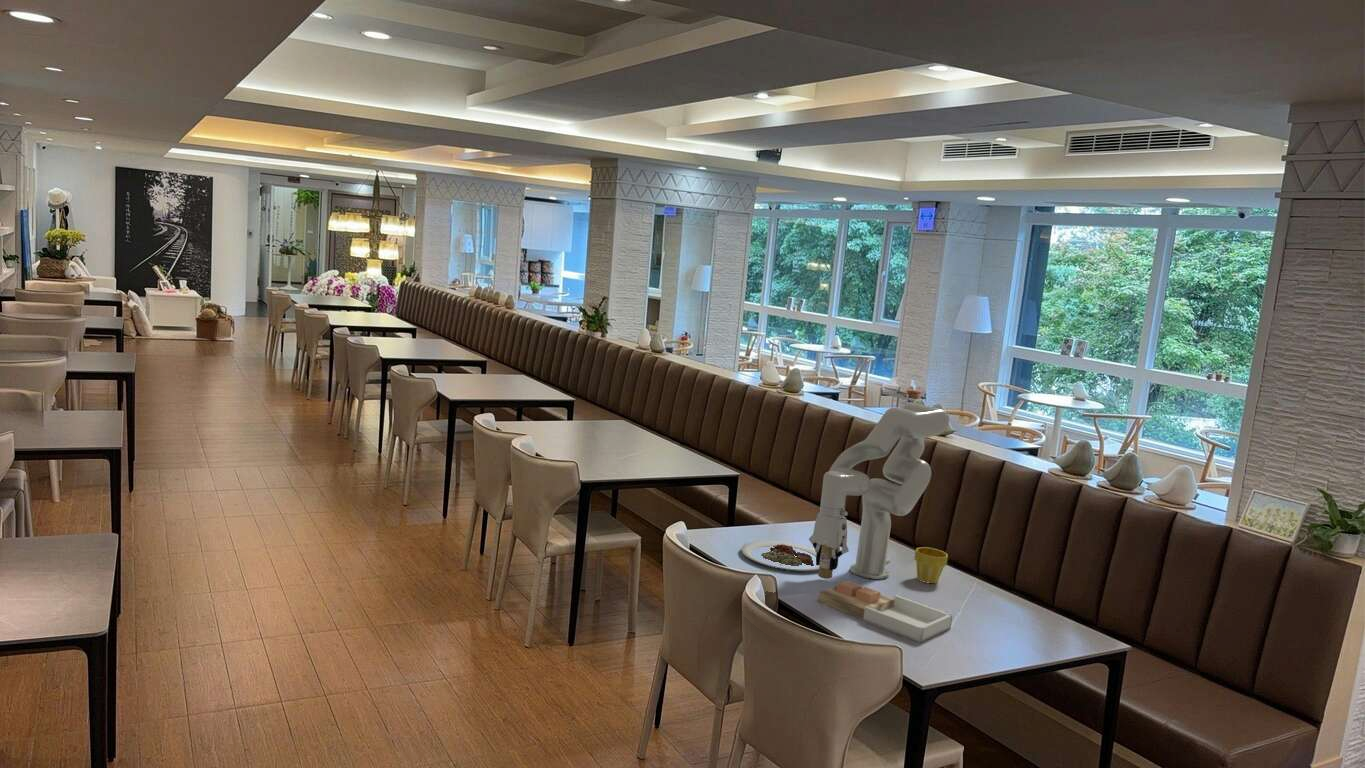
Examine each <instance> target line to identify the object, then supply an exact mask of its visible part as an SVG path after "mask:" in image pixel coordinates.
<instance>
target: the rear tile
mask: <svg viewBox="0 0 1365 768" xmlns="http://www.w3.org/2000/svg"><path fill="white" fill-rule="evenodd" d="M861 587H862V585H861V584H858V583H855V582H852V581H850V580H844V581H840V582H838V583H837V592H840V593H842V594H845V595H848V596H850V597H852V596H854V595H856V591H857V590H858V589H861Z"/></svg>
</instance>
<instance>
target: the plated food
mask: <svg viewBox="0 0 1365 768" xmlns="http://www.w3.org/2000/svg"><path fill="white" fill-rule="evenodd" d="M770 546H773V547H774V548H772V547H771V548H770V550H771V551H770V552H766V553H762V554H761V556H763V558H765V559H768V560H771V561H773V562H779V563H781V564H785V565H791V566H799V565H802V563H804V564H806V565H811V566H814V564H813V560H812V557H811V556H810V555H808V554H805V553H800V552H797V553H796V551H795V550H793V548H795V549H800V550H803V551H806V552H808V553H810V554H812V555H814V556H815V557H816V554H817V553H816V552H815V548H814V547H811V546H806V545H804V544H798V543H795V542H791V541H789V542H788V541H781V540H769V539H767V540H766V539H765V540H754V541H749V542H747V543H745V544H744V545H742V546H741V549H740V550H741V553H742V554H743V555H744V556H745V557H746V558H747V559H750V560H752V561H753V562H756V563H757V564H761V565H764V566H768V567H770V566H771V568H774V567H775V568H774V569H778V568H780V569H779V570H783V569H786V571H791V570H796V571H795V572H811V571H819V566H818V567H815V568H810V569H791V568H783V567H778V566H773V565H770V564H767V563H764V562H761V561H759V560H757V559H755V558H754V557H753V556H752V555H751V552H752V550H754V549H757V548H761V547H770ZM772 551H773V552H772ZM794 555H795V556H797V557H795V556H794ZM781 564H780V565H781Z"/></svg>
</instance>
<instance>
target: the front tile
mask: <svg viewBox="0 0 1365 768" xmlns="http://www.w3.org/2000/svg"><path fill="white" fill-rule="evenodd" d="M880 594H881V592H880V591H878V590H875V589H872V588H869V587H868V586H867V587H866V586H865V587H862V588H861V589H858V590H857V591H856V599H859V600H861V601H864V602H867V603H869V604H871V603H874V602H876V601H879V598H880Z"/></svg>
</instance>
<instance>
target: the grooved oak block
mask: <svg viewBox="0 0 1365 768" xmlns="http://www.w3.org/2000/svg"><path fill="white" fill-rule="evenodd" d="M861 588H863V586H861ZM817 599H818V600H817V602H818V603H819V604H822V605H825V606H828V607H830V608H832V609H836V610H837V611H840V612H843V613H845V614H849V615H851V616H853V617H856V618H858V619H862V620H863V617H864V610H865V607H869V608H872V609H875V610H877V611H880V612H881V611H884V610H887V609H889V608H892V607H893V606H894V599H895V598H892V597H890V596H888V595H884V594H881V593H880V598H879V601H876V602H874V603H871V604H869V603H867V602H864V601H861V600H859V599H856V595H854V596H852V597H850V596H848V595H845V594H842V593H840V592H837V586H834V587H831V588H828V589H826V590H821V591H819V593H818V598H817Z"/></svg>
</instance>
